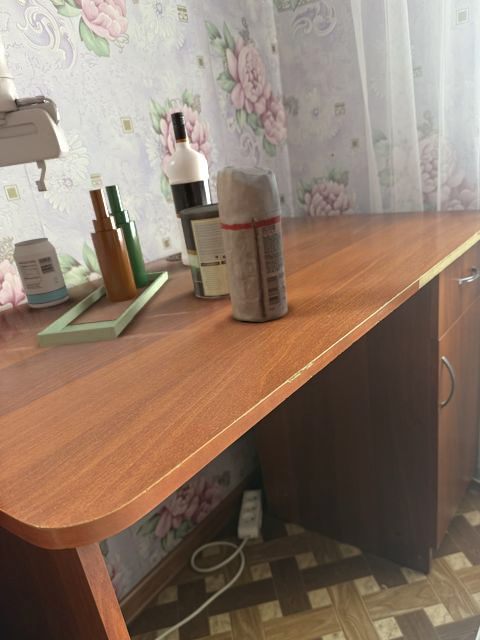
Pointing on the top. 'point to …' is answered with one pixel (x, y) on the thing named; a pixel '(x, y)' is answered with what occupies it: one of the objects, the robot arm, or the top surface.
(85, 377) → the top surface
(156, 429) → the top surface
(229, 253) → the spray can
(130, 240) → the green bottle
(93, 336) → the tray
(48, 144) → the robot arm
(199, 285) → the coffee can
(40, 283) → the beverage can
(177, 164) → the vodka
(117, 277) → the amber bottle
